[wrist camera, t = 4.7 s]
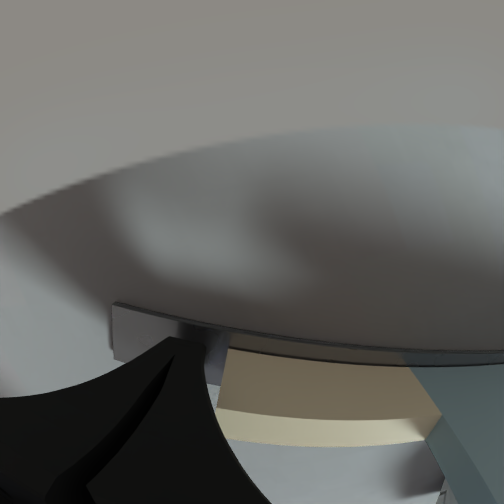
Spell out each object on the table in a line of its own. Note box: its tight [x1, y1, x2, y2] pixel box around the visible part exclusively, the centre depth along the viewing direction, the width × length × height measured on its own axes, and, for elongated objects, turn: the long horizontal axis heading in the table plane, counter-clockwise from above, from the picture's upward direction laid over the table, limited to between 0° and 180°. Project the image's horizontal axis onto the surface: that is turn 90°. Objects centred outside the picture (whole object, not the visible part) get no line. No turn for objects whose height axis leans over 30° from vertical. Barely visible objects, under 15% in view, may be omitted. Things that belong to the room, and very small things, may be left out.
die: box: [436, 478, 458, 504], centre depth 9 cm, size 8×9×10 cm
